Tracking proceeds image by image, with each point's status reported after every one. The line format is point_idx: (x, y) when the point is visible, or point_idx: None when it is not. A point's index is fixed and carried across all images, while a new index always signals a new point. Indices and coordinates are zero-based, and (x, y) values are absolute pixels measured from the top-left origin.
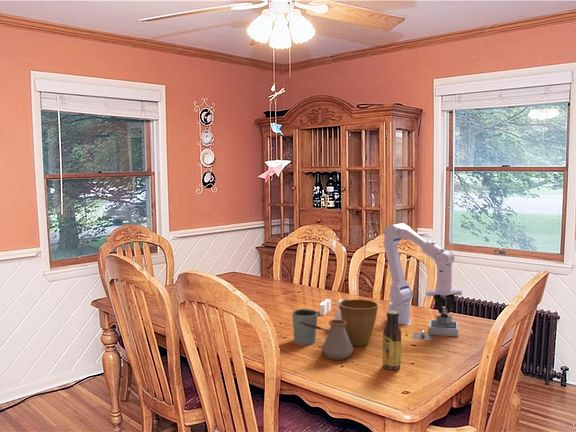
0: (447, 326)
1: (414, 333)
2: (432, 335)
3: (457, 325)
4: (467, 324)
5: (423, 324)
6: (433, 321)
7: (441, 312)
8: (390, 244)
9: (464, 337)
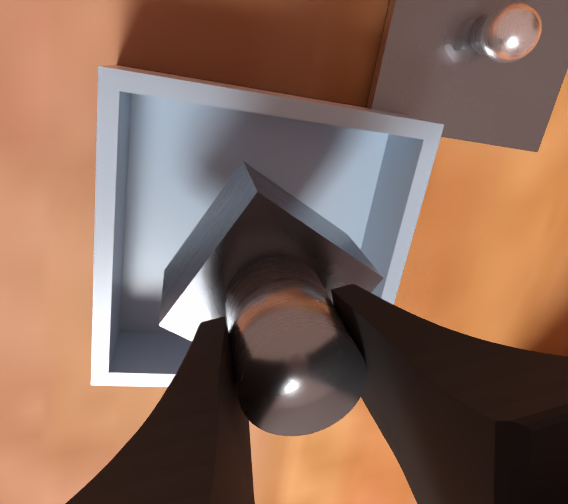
0: None
1: (536, 124)
2: (386, 75)
3: (98, 237)
4: (6, 482)
5: None
6: None
7: (337, 290)
8: None
9: (40, 89)
